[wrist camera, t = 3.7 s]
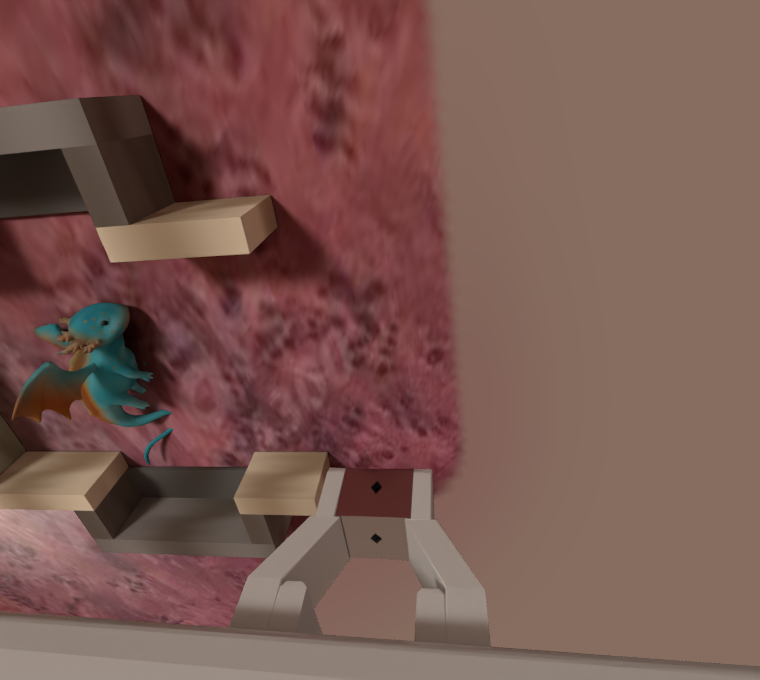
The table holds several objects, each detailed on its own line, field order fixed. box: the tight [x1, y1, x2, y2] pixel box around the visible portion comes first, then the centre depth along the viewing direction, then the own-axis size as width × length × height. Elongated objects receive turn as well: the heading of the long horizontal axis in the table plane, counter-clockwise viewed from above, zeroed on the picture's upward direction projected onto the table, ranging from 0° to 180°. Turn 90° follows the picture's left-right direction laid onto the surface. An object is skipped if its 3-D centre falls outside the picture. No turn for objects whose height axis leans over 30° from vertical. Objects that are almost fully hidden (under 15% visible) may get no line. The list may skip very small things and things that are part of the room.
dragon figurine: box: [12, 303, 173, 465], centre depth 21 cm, size 6×7×8 cm
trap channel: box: [0, 95, 331, 558], centre depth 19 cm, size 19×22×4 cm
